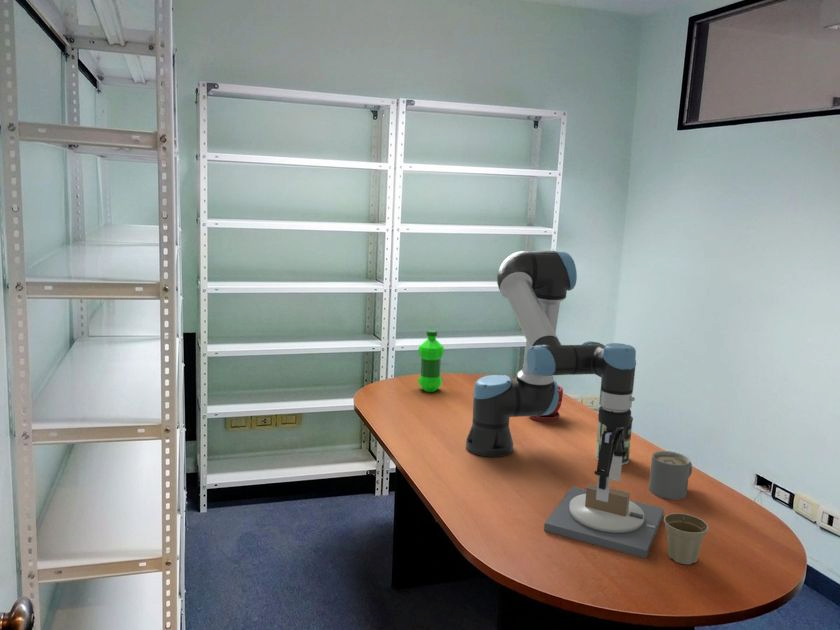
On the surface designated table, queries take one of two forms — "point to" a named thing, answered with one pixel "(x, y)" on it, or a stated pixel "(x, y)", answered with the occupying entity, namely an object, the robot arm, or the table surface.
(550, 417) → the plant pot
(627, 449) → the coffee can
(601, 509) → the dial
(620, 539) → the base plate
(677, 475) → the coffee mug
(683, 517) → the flower pot
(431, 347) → the plastic bottle
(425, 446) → the table surface
